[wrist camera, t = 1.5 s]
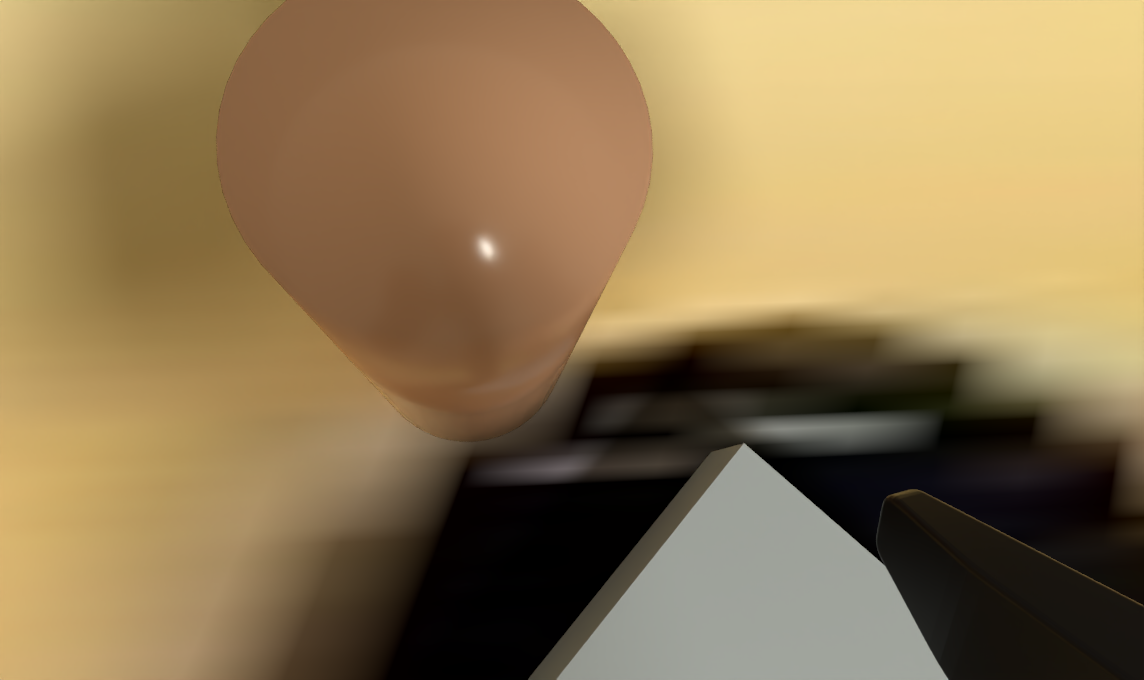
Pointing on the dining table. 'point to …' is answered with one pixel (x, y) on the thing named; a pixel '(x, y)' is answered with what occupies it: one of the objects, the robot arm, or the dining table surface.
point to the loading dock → (744, 594)
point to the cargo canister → (439, 189)
